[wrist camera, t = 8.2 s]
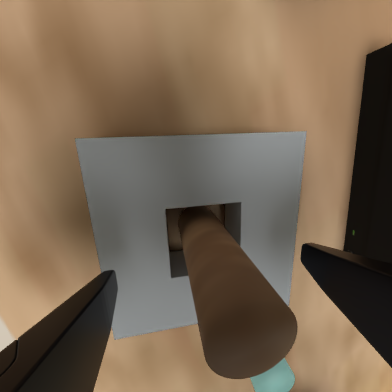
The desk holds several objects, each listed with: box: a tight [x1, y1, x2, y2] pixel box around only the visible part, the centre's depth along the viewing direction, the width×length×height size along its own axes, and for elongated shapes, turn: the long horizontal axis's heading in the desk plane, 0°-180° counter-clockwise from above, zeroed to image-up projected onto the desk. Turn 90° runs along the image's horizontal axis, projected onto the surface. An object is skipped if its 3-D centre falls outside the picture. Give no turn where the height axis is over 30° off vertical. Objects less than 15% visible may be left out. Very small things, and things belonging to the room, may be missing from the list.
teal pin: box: [250, 358, 295, 392], centre depth 15 cm, size 3×3×5 cm
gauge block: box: [75, 131, 307, 340], centre depth 12 cm, size 12×12×3 cm
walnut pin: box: [178, 206, 297, 379], centre depth 9 cm, size 3×3×9 cm
